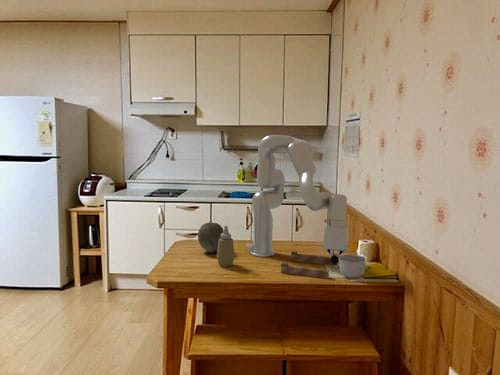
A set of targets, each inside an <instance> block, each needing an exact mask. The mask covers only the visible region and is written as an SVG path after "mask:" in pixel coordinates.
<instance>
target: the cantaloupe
mask: <svg viewBox="0 0 500 375" xmlns="http://www.w3.org/2000/svg"><path fill="white" fill-rule="evenodd" d="M223 231H224V228H223V226H222V225H221V224H219V223H217V222H211V221H210V222H205V223H203V224H202V225H201V226H200V228H199V229H198V232H197V241H198V243H199V245H200V247H201V248H202V249H204V250H205V251H206V252H208V253H211V254H214V253H217V250H218V241H219V239H220V238H221V234H222V233H223Z"/></svg>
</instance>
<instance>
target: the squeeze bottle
mask: <svg viewBox="0 0 500 375" xmlns="http://www.w3.org/2000/svg"><path fill="white" fill-rule="evenodd" d="M234 245H235V244H234V239H233V238H232V233H229V228H228V225H225V226H224V228H223V233H222V234H221V238H220V239H219V241H218V250H217V252H216V260H217V263H218V266H220V267H223V268H226V267H227V268H228V267H231V266H232V265H233V263H234V260H235V246H234Z"/></svg>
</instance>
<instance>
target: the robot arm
mask: <svg viewBox="0 0 500 375" xmlns="http://www.w3.org/2000/svg"><path fill="white" fill-rule="evenodd" d="M257 152H258V153H257V159H258V160H257V169H256V170H257V172H256V184H257V186H258V188H260V189H267V190H261V191H257V192H256V193H255V194H253V196H252V198H251V205H252V211H253V212H252V214H253V231H252V232H253V236H252V237H253V239H252V240H253V243H245V248H246V249H250V250H249V254H250V255H252V256H254V257H261V258H262V257H263V258H264V257H266V258H267V257H273V256H275V254H276V250H275V249H273V229H274V228H273V227H274V226H273V225H274V224H273V222H274V221H273V220H274V219H273V214H272V211H271V210H273V209H277V208H279V207H280V206H281V205H282V204H283V201H284V192H285V174H284V173H283V171H282V170H281V169H279V168H276V158H275V153H277V154H278V153H279V154H284V153H285V154H287V155H288V157H289V158H290V161H291V164H292V165H293V168H294V169H295V171H296V174H297V175H298V185H299V186H298V189H299V193H300V196H301V197H302V200H303V201H304V204H305V205H306V207H307V208H308V209H309V210H311V211H313V212H317V211H321V210H327V209H328V211H327V212H328V213H327V218H326V219H324V221H323V223H325V224H326V225H325V227H324V233H323V241H322V242H323V244H322V247H323V248H322V250H323V251H325V252H328V254H329V255H330V257H331V262H332V265H331V266H337V265H338V264H339V257H340V256H342V255H341V254H347V253H349V248H348V245H349V237H348V236H349V235H348V234H349V232H348V227H347V225H346V223H347V219H346V218H347V205H348V204H347V201H348V200H347V199H348V198H347V196H346V195H344V194H341V193H340V194H335V193H331V192H327V191H321V192H318V191H317V190H316V188H315V185H314V181H313V178H314V175H315V174H316V173H317V166H316V165H315V163H314V161H313V159H312V157H313V155H314V153H315V149H314V146H313V144H312V143H310V142H309V141H306V140H304V139H301V138H297V137H294V136H292V135H287V134H286V135H285V134H269V135H266V136H264V137H262V139H261V140H260V142H259V144H258V146H257ZM335 251H336V253H335Z"/></svg>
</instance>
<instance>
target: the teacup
mask: <svg viewBox="0 0 500 375" xmlns="http://www.w3.org/2000/svg"><path fill="white" fill-rule="evenodd" d="M338 264H339V272H340V273H341V275H342V276H344V277H345V278H347V279H358V278H361V276H363V275H364V274H365V271H366V258H365V257H364V256H362V255H357V254H355V253H351V254H343V255H339V260H338Z"/></svg>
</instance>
